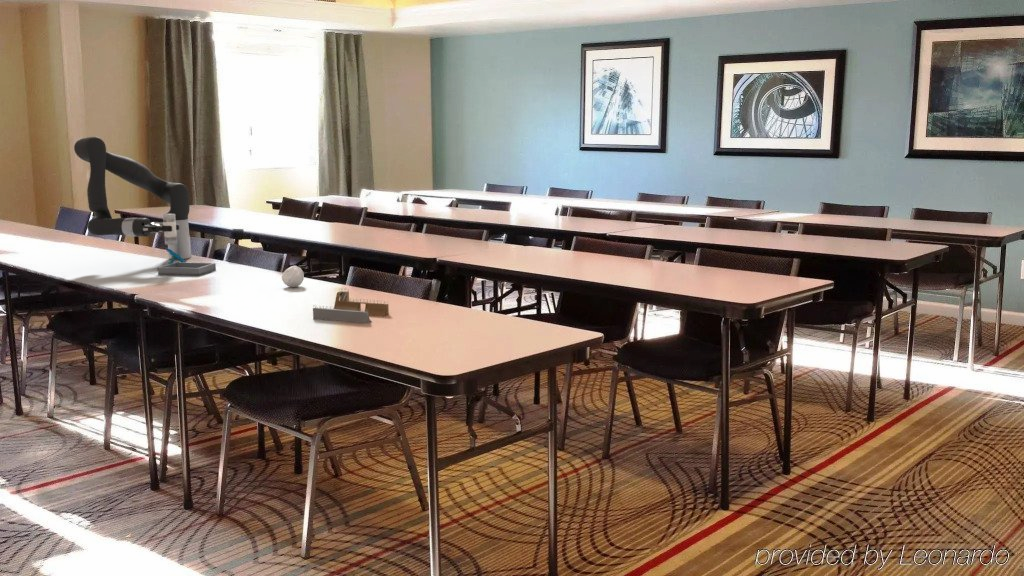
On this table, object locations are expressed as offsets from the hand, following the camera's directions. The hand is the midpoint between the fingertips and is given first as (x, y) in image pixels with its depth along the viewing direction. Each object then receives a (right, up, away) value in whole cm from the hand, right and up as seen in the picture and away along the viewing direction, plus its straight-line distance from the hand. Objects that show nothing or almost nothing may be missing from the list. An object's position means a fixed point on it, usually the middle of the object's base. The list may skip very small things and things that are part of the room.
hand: (175, 227), depth 376 cm
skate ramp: (+87, -33, -78) cm, 122 cm away
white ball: (+55, -24, -31) cm, 67 cm away
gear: (-7, -15, +22) cm, 27 cm away
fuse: (-2, -6, +2) cm, 7 cm away
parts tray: (+4, -18, +2) cm, 18 cm away
